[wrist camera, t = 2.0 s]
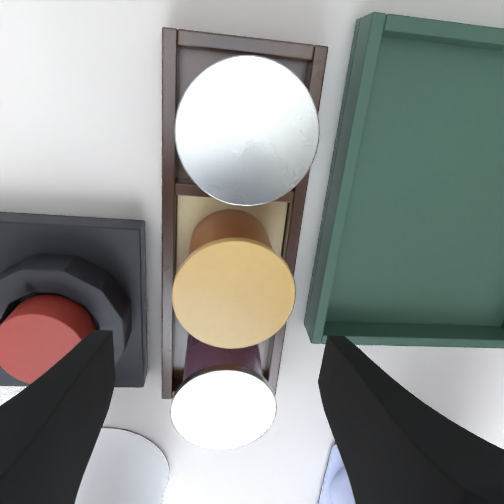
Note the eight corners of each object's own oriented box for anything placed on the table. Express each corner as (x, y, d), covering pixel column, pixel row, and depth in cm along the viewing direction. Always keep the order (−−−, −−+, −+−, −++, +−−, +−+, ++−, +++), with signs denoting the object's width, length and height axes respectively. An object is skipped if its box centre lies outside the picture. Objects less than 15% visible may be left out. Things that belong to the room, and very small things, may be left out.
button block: (-20, 210, 19) (-63, 233, 16) (145, 220, 20) (132, 243, 17) (11, 369, 23) (-19, 411, 20) (147, 371, 24) (138, 411, 21)
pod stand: (319, 49, 17) (328, 46, 16) (271, 382, 25) (274, 400, 24) (166, 31, 17) (161, 26, 15) (164, 381, 24) (161, 399, 23)
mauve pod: (267, 307, 22) (282, 371, 17) (259, 375, 24) (270, 449, 19) (181, 304, 22) (170, 368, 17) (179, 374, 24) (170, 450, 19)
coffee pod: (281, 204, 20) (304, 244, 15) (271, 289, 22) (287, 350, 17) (183, 198, 19) (172, 237, 14) (181, 286, 21) (170, 347, 16)
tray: (616, 52, 19) (659, 48, 17) (500, 329, 25) (523, 349, 23) (356, 19, 17) (373, 11, 15) (303, 323, 23) (311, 344, 22)
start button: (4, 292, 18) (-16, 312, 16) (93, 295, 18) (81, 315, 17) (17, 361, 19) (-1, 385, 18) (98, 362, 20) (88, 386, 18)
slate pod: (298, 69, 17) (330, 63, 12) (284, 178, 19) (308, 210, 14) (187, 57, 17) (175, 46, 12) (184, 171, 19) (173, 201, 14)
